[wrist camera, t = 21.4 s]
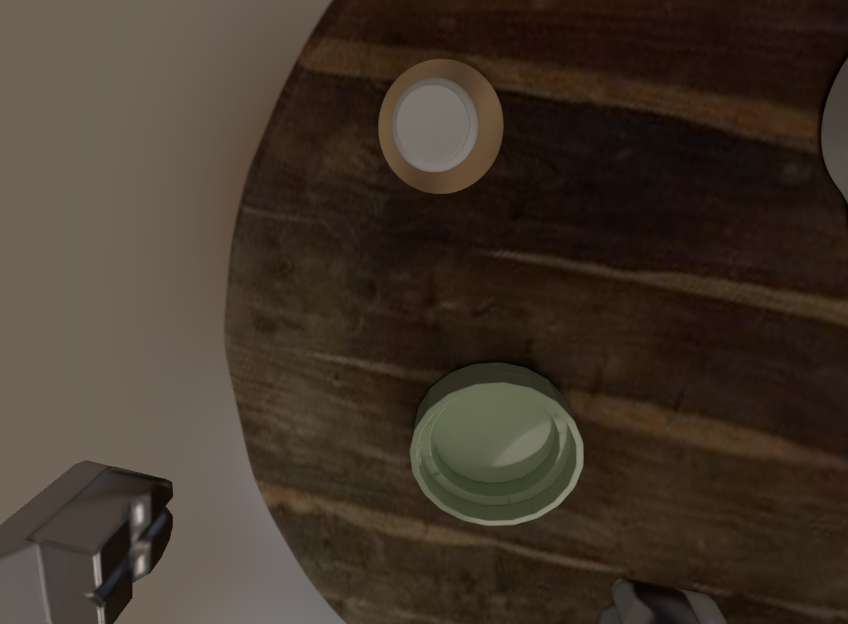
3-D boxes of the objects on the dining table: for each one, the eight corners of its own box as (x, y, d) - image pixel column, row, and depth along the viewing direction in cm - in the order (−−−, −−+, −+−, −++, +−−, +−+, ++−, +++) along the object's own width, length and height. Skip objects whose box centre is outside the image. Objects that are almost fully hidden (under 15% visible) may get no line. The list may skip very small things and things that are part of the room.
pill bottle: (394, 101, 32) (370, 84, 23) (466, 79, 31) (468, 53, 23) (413, 176, 33) (398, 185, 25) (482, 158, 33) (490, 160, 24)
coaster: (517, 74, 31) (518, 73, 31) (485, 204, 34) (486, 205, 34) (390, 47, 31) (389, 45, 31) (370, 179, 34) (369, 180, 34)
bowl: (593, 380, 38) (608, 404, 35) (545, 506, 43) (553, 540, 40) (432, 344, 38) (429, 366, 35) (402, 475, 43) (396, 506, 40)
